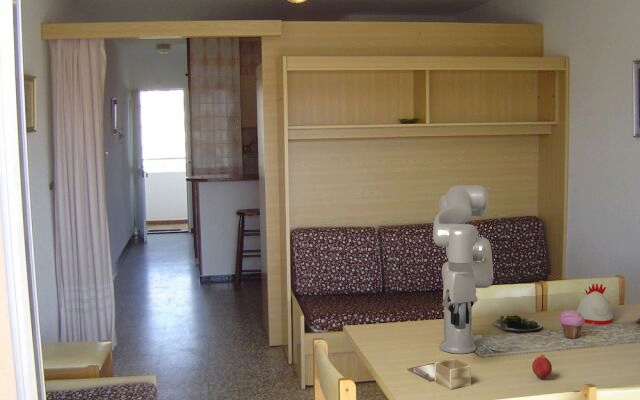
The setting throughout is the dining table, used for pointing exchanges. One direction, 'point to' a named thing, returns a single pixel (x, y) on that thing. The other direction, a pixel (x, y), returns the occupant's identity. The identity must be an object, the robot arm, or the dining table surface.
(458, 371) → the wooden box
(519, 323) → the salad plate
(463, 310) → the cylinder
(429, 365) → the clipboard
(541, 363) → the onion
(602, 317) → the white and red dome
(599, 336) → the dining table surface
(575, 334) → the cupcake
